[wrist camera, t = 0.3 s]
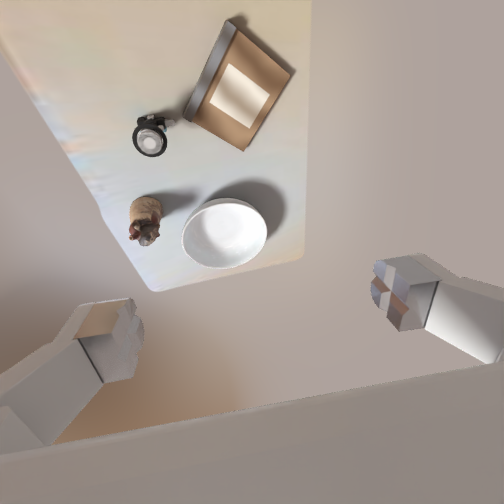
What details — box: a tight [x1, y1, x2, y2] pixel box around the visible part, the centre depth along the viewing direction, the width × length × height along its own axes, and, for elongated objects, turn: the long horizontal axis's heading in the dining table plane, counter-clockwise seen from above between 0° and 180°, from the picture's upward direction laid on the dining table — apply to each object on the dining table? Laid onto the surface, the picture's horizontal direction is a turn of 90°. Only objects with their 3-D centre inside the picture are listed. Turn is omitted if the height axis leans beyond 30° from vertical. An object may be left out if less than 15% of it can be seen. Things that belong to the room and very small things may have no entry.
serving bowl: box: [181, 198, 267, 269], centre depth 67 cm, size 21×21×7 cm
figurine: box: [129, 197, 163, 246], centre depth 57 cm, size 7×7×12 cm
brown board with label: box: [183, 20, 291, 152], centre depth 48 cm, size 16×14×2 cm
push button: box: [132, 115, 175, 157], centre depth 46 cm, size 7×5×10 cm
